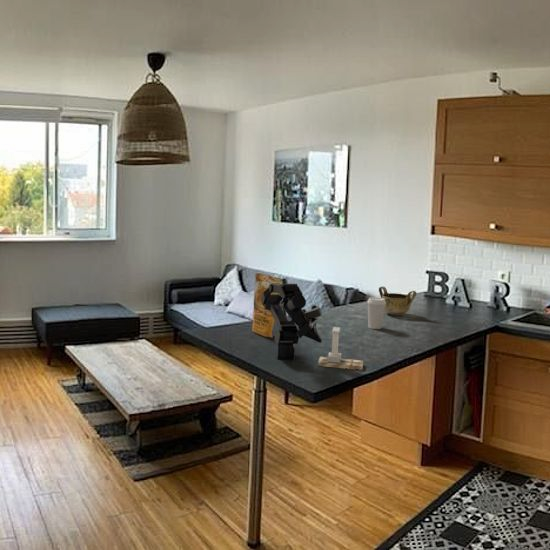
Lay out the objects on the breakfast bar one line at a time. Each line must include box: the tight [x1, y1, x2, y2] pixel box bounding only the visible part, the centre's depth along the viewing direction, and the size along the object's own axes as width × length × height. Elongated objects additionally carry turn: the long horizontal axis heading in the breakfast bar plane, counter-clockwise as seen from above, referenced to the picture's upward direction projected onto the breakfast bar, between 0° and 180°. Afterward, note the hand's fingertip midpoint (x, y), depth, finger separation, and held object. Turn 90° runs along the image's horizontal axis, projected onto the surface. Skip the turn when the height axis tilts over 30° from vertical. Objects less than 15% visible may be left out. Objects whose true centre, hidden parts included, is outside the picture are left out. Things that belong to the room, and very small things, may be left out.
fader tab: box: [326, 326, 342, 363], centre depth 244 cm, size 5×7×13 cm
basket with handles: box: [378, 286, 417, 317], centre depth 346 cm, size 22×17×15 cm
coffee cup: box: [366, 296, 386, 330], centre depth 311 cm, size 10×10×15 cm
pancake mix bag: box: [251, 272, 284, 338], centre depth 287 cm, size 7×19×28 cm, turn 36°
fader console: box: [317, 356, 364, 371], centre depth 245 cm, size 18×8×2 cm, turn 80°
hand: (321, 341), depth 245 cm, fingers closed
